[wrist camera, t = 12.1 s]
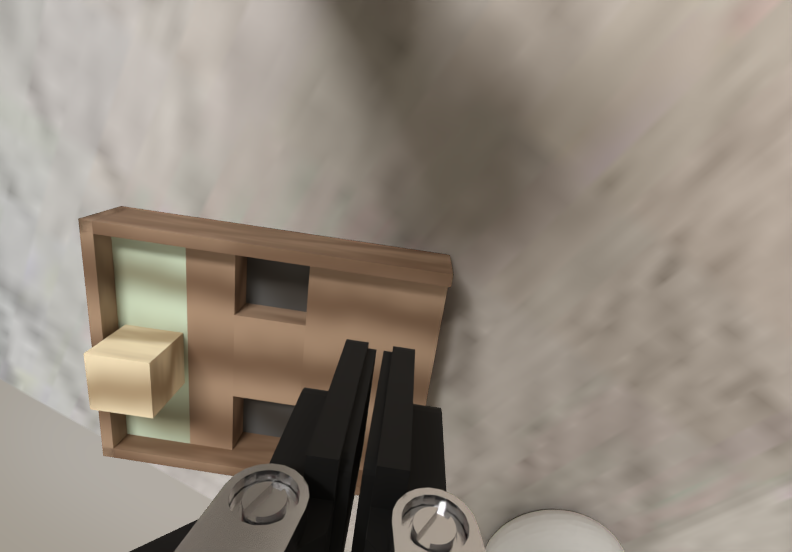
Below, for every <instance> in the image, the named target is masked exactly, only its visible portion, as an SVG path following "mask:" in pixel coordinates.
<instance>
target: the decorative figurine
mask: <svg viewBox="0 0 792 552" xmlns="http://www.w3.org/2000/svg"><path fill="white" fill-rule="evenodd" d="M485 550H486V552H625V551H624V549H623V548H622V546H621V544H620V543H619V541H618V539H617V538H616V537H615V536H614V535H613V534H612V533H611V532H610V531H609V530H608V529H607V528H606V527H604V526H603V525H602V524H600V523H599V522H597V521H595V520H593V519H591V518H589V517H587V516H585V515H582V514H579V513H576V512H572V511H566V510H540V511H535V512H530V513H527V514H524V515H521V516H519V517H517V518H515V519H513V520H511V521H510V522H508V523H506V524H505V525H503V526H502V527H501V528H500V529H499V530H498V531H497V532H496V533H495V534H494V535H493V536H492V538H491V539H490V540H489V542H488V544H487V545H486V548H485Z"/></svg>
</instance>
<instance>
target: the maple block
mask: <svg viewBox="0 0 792 552" xmlns="http://www.w3.org/2000/svg"><path fill="white" fill-rule="evenodd" d="M84 361H85V369H86V377H87V385H88V394H89V402H90V409H92V410H99V411H106V412H113V413H119V414H126V415H133V416H140V417H147V418H154V417H155V416H156V415H157V413H158V412H159V411H160V410H161V409H162V408H163V407H164V406H165V405H166V403H167V402H168V401H169V400H170V399H171V398H172V397H173V396H174V395H175V393H176V392H177V391H178V390H179V389H180V388H181V387H182V386H183V385H184V383H185V370H184V342H183V333H181V332H174V331H167V330H160V329H153V328H146V327H139V326H133V325H126V324H125V325H124V326H122V327H121V328H120V329H118V330H117V331H115V332H114V333H112V334H111V335H110V336H108V337H107V338H105V339H104V340H102V341H101V342H99V343H98V344H97V345H95V346H94V347H92V348H91V349H89V350H88V351H86V352H85V353H84Z"/></svg>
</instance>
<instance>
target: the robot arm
mask: <svg viewBox="0 0 792 552" xmlns="http://www.w3.org/2000/svg"><path fill="white" fill-rule="evenodd" d="M376 351H377V349H370V348H369V342H363V341H357V340H350V339H347V340H346V342H345V345H344V348H343V351H342V353H341V356H340V359H339V362H338V365H337V368H336V370H335V373H334V376H333V379H332V382H331V385H330V388H329V390H328V391H325V390H319V389H312V388H306V387H305V388H303V390H302V391H301V394H300V396H299V398H298V400H297V402H296V405H295V407H294V409H293V411H292V414H291V416H290V418H289V420H288V422H287V425H286V427H285V429H284V431H283V434H282V436H281V438H280V440H279V443H278V445H277V447H276V449H275V451H274V454H273V456H272V458H271V460H270V463H269V464H259V465H255V466H252V467H249V468H246V469H244V470H242V471H241V472H239V473H237V474H235V475H234V476H233V477H232V478H231V479H230V480H229V481H228V482H227V483H226V484H225V485H224V486H223V488H222V489H221V490H220V492H219V493H218V494H217V496H216V497H215V498H214V500H213V501H212V502H211V504H210V505H209V506H208V508H207V509H206V510H205V512H204V513H203V514H202V515H201V517H200V518H199V519H198V520H196V521H194V522H191V523H189V524H187V525H185V526H183V527H181V528H179V529H177V530H175V531H172V532H170V533H168V534H166V535H164V536H162V537H160V538H158V539H155V540H154V541H151V542H149V543H147V544H145V545H143V546H141V547H138V548H136V549H134V550H132V551H130V552H344V548H345V543H346V538H347V532H348V527H349V521H350V516H351V511H352V505H353V500H354V495H355V489H356V484H357V478H358V473H359V468H360V462H361V457H362V451H363V445H364V438H365V431H366V424H367V417H368V409H369V402H370V395H371V388H372V380H373V373H374V366H375V359H376ZM414 369H415V349H410V348H403V347H396V346H393V351H392V352H390V351H383V357H382V363H381V368H380V374H379V380H378V385H377V391H376V397H375V402H374V408H373V414H372V420H371V425H370V431H369V437H368V442H367V448H366V454H365V460H364V466H363V473H362V479H361V487H360V494H359V501H358V508H357V515H356V522H355V529H354V536H353V543H352V551H351V552H486V550H485V547H484V543H483V540H482V537H481V533H480V530H479V527H478V523H477V521H476V519H475V517H474V515H473V513H472V511H471V510H470V509H469V508H468V507H467V505H466V504H465V503H464V502H463V501H461V500H460V499H459V498H457V497H456V496H454V495H453V494H450V493H448V492H446V478H445V460H444V443H443V426H442V411H441V408H437V407H430V406H424V405H417V404H413V394H414Z"/></svg>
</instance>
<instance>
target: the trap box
mask: <svg viewBox="0 0 792 552" xmlns="http://www.w3.org/2000/svg"><path fill="white" fill-rule="evenodd" d="M78 220H79V229H80V239H81V248H82V258H83V267H84V277H85V286H86V296H87V305H88V315H89V324H90V334H91V343H92V347H94V346H95V345H97V344H98V343H99V342H101V341H102V340H104V339H105V338H107V337H108V336H110V335H111V334H112V333H114V332H115V331H117V330H118V329H120V328H121V327H122V326H124V325H125V324H126V325H133V326H139V327H146V328H153V329H160V330H167V331H174V332H181V333H183V342H184V370H185V383H184V385H183V386H182V387H181V388H180V389H179V390H178V391H177V392H176V393H175V395H174V396H173V397H172V398H171V399H170V400H169V401H168V402H167V403H166V405H165V406H164V407H163V408H162V409H161V410H160V411H159V412H158V413H157V415H156V416H155V417H154V418H147V417H140V416H133V415H126V414H119V413H113V412H106V411H99V419H100V429H101V438H102V448H103V456H109V457H114V458H121V459H128V460H134V461H141V462H147V463H153V464H160V465H166V466H173V467H179V468H185V469H192V470H198V471H205V472H211V473H218V474H224V475H231V476H234V475H235V474H237V473H239V472H241V471H242V470H244V469H246V468H249V467H252V466H255V465H259V464H269V463H270V460H271V458H272V456H273V454H274V451H275V449H276V447H277V445H278V443H279V440H280V438H281V436H282V434H283V431H284V429H285V427H286V425H287V422H288V420H289V418H290V416H291V414H292V411H293V409H294V407H295V405H296V402H297V400H298V398H299V396H300V394H301V391H302V390H303V388H305V387H306V388H312V389H319V390H325V391H328V390H329V388H330V385H331V382H332V379H333V376H334V373H335V370H336V368H337V365H338V362H339V359H340V356H341V353H342V351H343V348H344V345H345V342H346V340H347V339H350V340H357V341H363V342H369V348H370V349H377V351H376V359H375V366H374V373H373V380H372V388H371V395H370V402H369V409H368V417H367V424H366V431H365V438H364V445H363V451H362V457H361V462H360V468H359V473H358V478H357V484H356V489H355V495H359V494H360V487H361V479H362V473H363V466H364V460H365V454H366V448H367V442H368V437H369V431H370V425H371V420H372V414H373V408H374V402H375V397H376V391H377V385H378V380H379V374H380V368H381V363H382V357H383V351H390V352H392V351H393V346H396V347H403V348H410V349H415V369H414V394H413V404H417V405H424V406H426V400H427V395H428V390H429V384H430V379H431V374H432V368H433V363H434V358H435V353H436V347H437V342H438V337H439V331H440V326H441V321H442V316H443V310H444V305H445V300H446V294H447V289H448V287H451V284H452V279H453V270H452V264H451V259H450V255H447V254H440V253H433V252H426V251H420V250H413V249H406V248H399V247H393V246H386V245H379V244H373V243H366V242H359V241H352V240H346V239H339V238H332V237H325V236H319V235H312V234H305V233H299V232H292V231H285V230H278V229H272V228H265V227H258V226H251V225H245V224H238V223H231V222H225V221H218V220H211V219H204V218H198V217H191V216H184V215H177V214H171V213H164V212H157V211H151V210H144V209H137V208H130V207H124V206H120V207H117V208H113V209H110V210H106V211H103V212H100V213H96V214H93V215H89V216H86V217H83V218H79V219H78Z"/></svg>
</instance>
